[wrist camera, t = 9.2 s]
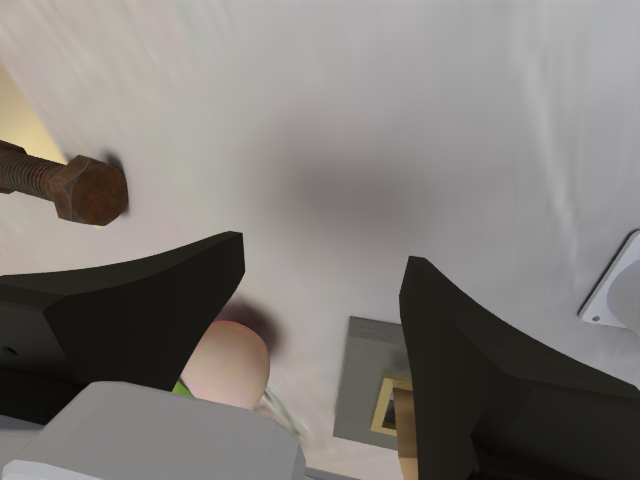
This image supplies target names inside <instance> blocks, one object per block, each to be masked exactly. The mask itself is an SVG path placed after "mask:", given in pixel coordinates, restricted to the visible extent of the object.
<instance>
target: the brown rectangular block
mask: <svg viewBox="0 0 640 480" xmlns="http://www.w3.org/2000/svg"><path fill="white" fill-rule="evenodd" d="M393 395H394V407H395V419H396V432H397V444H398V456H399V461H400V465H401V469H402V473H403V477H404V480H418V462H417V444H416V427H415V412H414V399H413V391H411V390H406V389H400V388H395V387H393Z"/></svg>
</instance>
